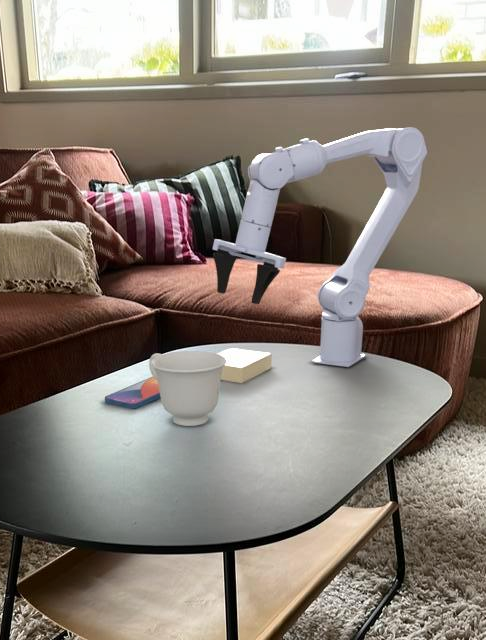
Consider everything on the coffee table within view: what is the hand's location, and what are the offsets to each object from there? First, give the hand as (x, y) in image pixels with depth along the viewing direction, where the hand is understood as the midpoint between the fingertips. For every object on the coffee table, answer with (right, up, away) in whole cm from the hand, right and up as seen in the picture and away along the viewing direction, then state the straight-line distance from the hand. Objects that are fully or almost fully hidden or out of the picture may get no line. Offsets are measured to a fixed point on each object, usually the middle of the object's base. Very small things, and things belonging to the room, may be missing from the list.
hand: (237, 298), depth 145 cm
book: (0, -13, +4) cm, 14 cm away
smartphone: (-17, -20, -8) cm, 27 cm away
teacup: (-10, -26, -20) cm, 34 cm away
